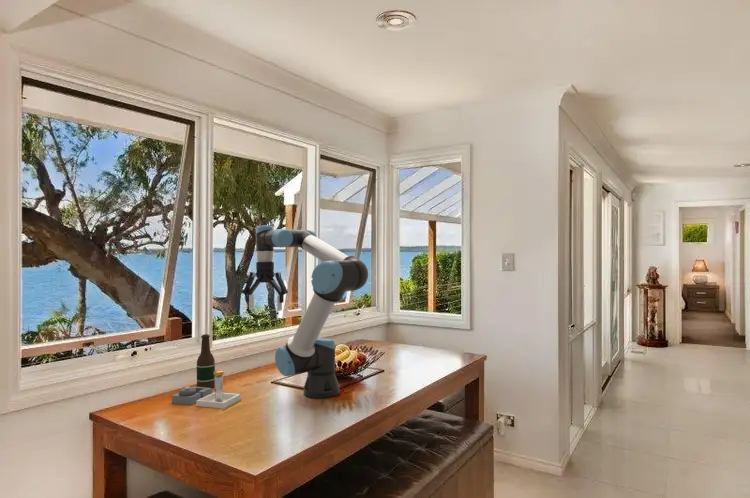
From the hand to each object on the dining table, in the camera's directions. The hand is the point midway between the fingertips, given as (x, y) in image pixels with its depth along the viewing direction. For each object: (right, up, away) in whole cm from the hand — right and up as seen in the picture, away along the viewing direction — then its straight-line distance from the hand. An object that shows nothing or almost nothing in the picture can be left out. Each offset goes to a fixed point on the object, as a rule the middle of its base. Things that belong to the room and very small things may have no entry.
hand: (265, 310), depth 211 cm
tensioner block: (-26, -35, -15) cm, 46 cm away
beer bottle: (-26, -35, +2) cm, 44 cm away
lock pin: (-14, -34, -20) cm, 42 cm away
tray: (-14, -35, -20) cm, 42 cm away
